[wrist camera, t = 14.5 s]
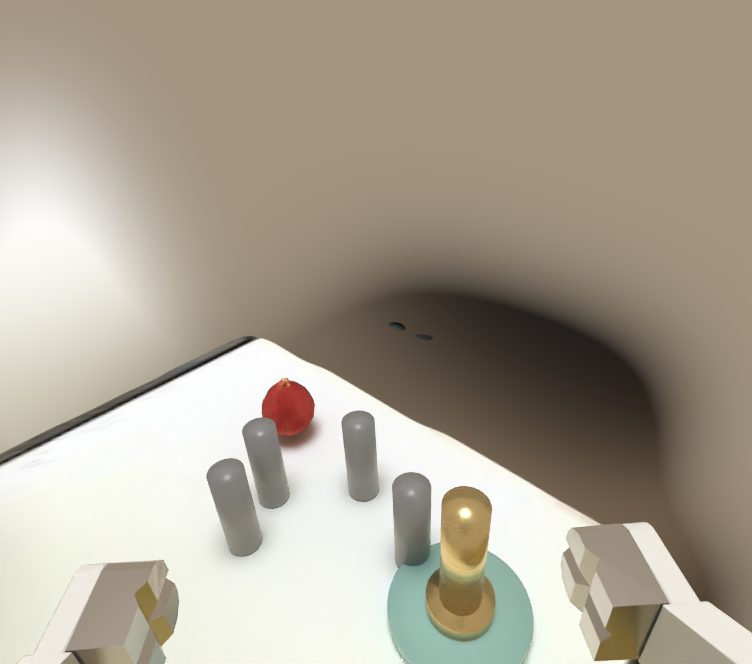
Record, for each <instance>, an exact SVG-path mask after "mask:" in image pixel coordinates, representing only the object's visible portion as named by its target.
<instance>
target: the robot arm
mask: <svg viewBox="0 0 752 664" xmlns="http://www.w3.org/2000/svg"><path fill="white" fill-rule="evenodd" d="M566 540H567V542H568V545H569V547H570V548H569V549H567V550H566V551H565V552H564V553H563V556H562V561H561V569H562V578H563V582H564V586H565V589H566V592H567V595H568V597H569V600H570V602H571V603H572V604H573V605H574V606H575V607H577V608H578V609H579V610H580V611H581V612H582V617H581V621H580V624H579V625H580V628H581V630H582V633H583V635H584V638H585V640H586V643H587V645H588V648H589V650H590V653H591V655H592V658H593V660H594V661H606V660H626V659H639V661H638V662H639V663H640V664H752V633H751V632H749V631H748V630H746V629H745V628H744V627H742V626H741V625H740V624H738V623H737V622H735V621H734V620H733V619H731V618H730V617H729V616H727V615H726V614H724V613H723V612H722V611H720V610H719V609H718V608H716V607H715V606H713V605H712V604H711V603H709V602H700V601H699V599H698V598H697V596H696V595H695V593H694V591H693V590H692V588H691V587H690V585H689V583H688V582H687V580H686V579H685V577H684V576H683V574H682V572H681V571H680V569H679V568H678V566H677V565H676V563H675V561H674V560H673V558H672V557H671V555H670V554H669V552H668V550H667V549H666V547H665V546H664V544H663V542H662V541H661V539H660V538H659V536H658V535H657V533H656V531H655V530H654V528H653V527H652V526H651V525H649V524H648V523H645V522H638V523H628V524H609V525H598V526H587V527H576V528H571V529H570V530H569V531H568V534H567V538H566ZM167 572H168V568H167V566H166V564H165V562H164V560H153V561H137V562H121V563H102V564H89V565H82V566H81V567H80V569H79V570H78V571H77V572H76V573H75V574H74V576H73V578H72V580H71V581H70V583H69V585H68V587H67V589H66V591H65V593H64V595H63V597H62V599H61V601H60V603H59V605H58V607H57V609H56V611H55V613H54V615H53V617H52V619H51V621H50V623H49V625H48V626H47V628H46V630H45V632H44V634H43V636H42V638H41V640H40V642H39V644H38V646H37V648H36V650H35V652H34V654H33V655H26V656H24V657H23V658H22V659H21V660H20V661H19V662H17V663H16V664H164V663H165V659H166V657H165V654H164V652H163V649H162V645H163V644H164V643H165V642H166V641H167V639H168V638H169V637H170V636H171V635H172V634H173V632H174V628H175V624H176V621H177V616H178V606H179V598H178V591H177V588H176V586H175V584H174V583H173V582H171V581H170V580H168V579H166V576H167Z"/></svg>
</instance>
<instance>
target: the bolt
mask: <svg viewBox="0 0 752 664" xmlns="http://www.w3.org/2000/svg"><path fill="white" fill-rule="evenodd" d="M491 513H492V506H491V502H490V500H489V499H488V497H487V496H486V495H485V494H484V493H483V492H481V491H480V490H478V489H475V488H472V487H468V486H460V487H455V488H453V489H451V490H449V491H448V492H447V493H446V494H445V495H444V497H443V499H442V512H441V544H440V568H438V569H437V570H436V571H435V572H434V573H433V574H432V575H431V576H430V578H429V580H428V583H427V586H426V612H427V615H428V618H429V620H430V622H431V624H432V625H433V626H434V628H435V629H436V630H437V631H438V632H439V633H441V634H442V635H443V636H445V637H447V638H449V639H451V640H455V641H460V642H468V641H473V640H476V639H478V638H480V637H481V636H483V635H484V634H485V633H486V632H487V631H488V630H489V628H490V626H491V625H492V622H493V618H494V612H495V603H496V598H495V592H494V589H493V587H492V585H491V583H490V581H489V580H488V578H487V577H486V576H485V567H486V558H487V549H488V540H489V531H490V522H491Z"/></svg>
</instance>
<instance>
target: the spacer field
mask: <svg viewBox="0 0 752 664" xmlns="http://www.w3.org/2000/svg"><path fill="white" fill-rule="evenodd" d="M342 432H343V441H344V450H345V459H346V468H347V477H348V486H349V493H350V496H351V497H352V498H353V499H355V500H357V501H361V502H365V501H369V500H372V499H373V498H375V497H376V495H377V494H378V491H379V484H378V469H377V453H376V438H375V422H374V417H373V416H372V415H371V414H370V413H368V412H365V411H353V412H350V413H348V414H347V415H345V416H344V417H343V419H342ZM242 433H243V437H244V441H245V445H246V449H247V453H248V457H249V461H250V465H251V469H252V473H253V477H254V481H255V485H256V489H257V493H258V497H259V501H260V504H261V505H262V506H264V507H266V508H277V507H280V506H282V505H283V504H284V503H285V502H286V501H287V500H288V498H289V488H288V484H287V479H286V474H285V469H284V464H283V459H282V454H281V449H280V444H279V439H278V434H277V429H276V424H275V422H274V421H273V420H272V419H269V418H256V419H253V420H251V421H249V422H248V423H247V424H246V425H245V426H244V427H243V430H242ZM207 481H208V484H209V487H210V490H211V493H212V496H213V499H214V502H215V506H216V509H217V512H218V515H219V518H220V521H221V524H222V527H223V530H224V534H225V537H226V540H227V543H228V546H229V549H230V551H231V552H232V553H233V554H234V555H236V556H247V555H250V554H252V553H253V552H255V551H256V550H257V549H258V548H259V546H260V545H261V542H262V534H261V530H260V526H259V522H258V519H257V515H256V511H255V507H254V503H253V499H252V496H251V492H250V488H249V484H248V480H247V476H246V473H245V469H244V465H243V463H242V462H241V461H239V460H237V459H232V458H229V459H224V460H221V461H219V462H217V463H215V464H214V465H213V466H211V468H210V469H209V470H208V472H207ZM392 491H393V514H394V537H395V560H396V564H397V566H398V568H400V567H401V565H402V564H405V565H408V566H418V565H421V564H423V563H424V562H426V561H427V559H428V558H429V555H430V530H431V484H430V482H429V480H428V479H427V478H426V477H425V476H423V475H421V474H419V473H414V472H409V473H404V474H402V475H400V476H398V477H397V478H396V479H395V480H394V482H393V485H392Z"/></svg>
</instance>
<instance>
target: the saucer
mask: <svg viewBox="0 0 752 664" xmlns="http://www.w3.org/2000/svg"><path fill="white" fill-rule="evenodd" d="M440 544H441V543H438V544H434V545H430V555H429V558H428V559H427V561H426V562H424V563H423V564H421V565H418V566H408V565H405V564H402V565H401V567H400V568H399V569H398V571H397V573H396V574H395V576H394V578H393V581H392V583H391V586H390V590H389V595H388V621H389V628H390V632H391V636H392V639H393V642H394V644H395V646H396V649H397V650H398V652H399V654H400V656H401V657H402V659H403V660H404V661H405V663H406V664H523V662H524V660H525V658H526V656H527V653H528V650H529V647H530V642H531V638H532V631H533V613H532V607H531V603H530V599H529V597H528V594H527V592H526V590H525V588H524V586H523V584H522V582H521V581H520V579H519V578H518V576H517V575H516V574H515V573H514V571H513V570H512V569H511V568H510V567H509V566H508V565H507V564H506V563H505V562H504V561H502V560H501V559H500V558H498V557H497V556H496V555H494V554H492V553H490V552H489V551H487V558H486V567H485V576H486V577H487V578H488V580H489V581H490V583H491V585H492V587H493V589H494V592H495V598H496V603H495V612H494V618H493V622H492V625H491V626H490V628H489V630H488V631H487V632H486V633H485V634H484V635H483V636H481V637H480V638H478V639H476V640H473V641H468V642H460V641H455V640H451V639H449V638H447V637H445V636H443V635H442V634H441V633H439V632H438V631H437V630H436V629H435V628H434V626H433V625H432V624H431V622H430V620H429V618H428V615H427V612H426V586H427V583H428V580H429V578H430V576H431V575H432V574H433V573H434V572H435V571H436V570H437V569H438V568H440Z"/></svg>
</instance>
